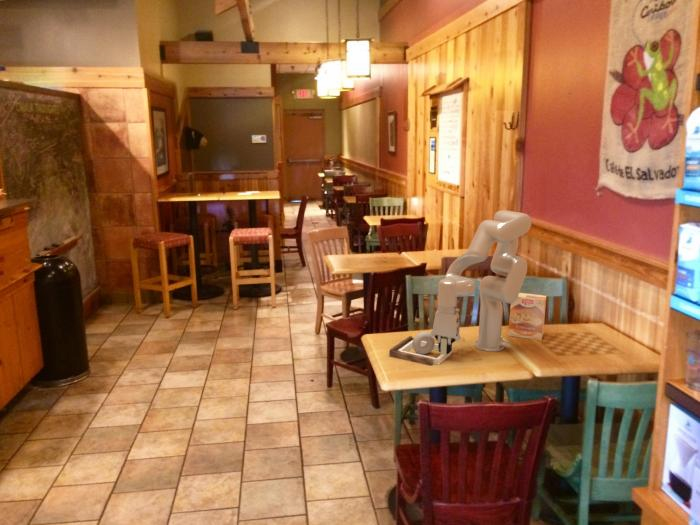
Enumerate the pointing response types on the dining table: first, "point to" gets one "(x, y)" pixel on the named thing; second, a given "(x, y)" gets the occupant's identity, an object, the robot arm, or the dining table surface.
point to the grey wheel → (427, 347)
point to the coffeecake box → (527, 316)
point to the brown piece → (409, 357)
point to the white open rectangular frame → (442, 353)
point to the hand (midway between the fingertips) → (444, 351)
